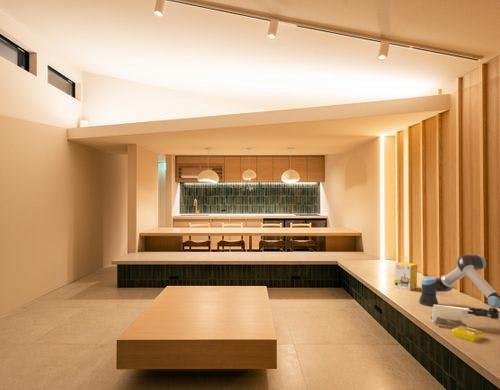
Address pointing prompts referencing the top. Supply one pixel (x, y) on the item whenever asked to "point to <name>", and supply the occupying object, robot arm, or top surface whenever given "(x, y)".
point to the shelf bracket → (448, 312)
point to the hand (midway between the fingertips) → (461, 310)
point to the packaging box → (405, 276)
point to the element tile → (468, 333)
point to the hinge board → (448, 323)
